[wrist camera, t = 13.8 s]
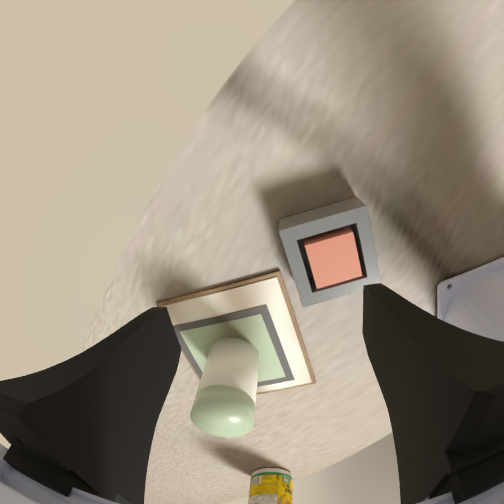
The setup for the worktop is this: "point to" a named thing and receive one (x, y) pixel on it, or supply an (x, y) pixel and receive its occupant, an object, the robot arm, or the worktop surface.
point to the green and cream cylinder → (227, 389)
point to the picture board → (245, 328)
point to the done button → (333, 256)
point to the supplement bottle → (270, 486)
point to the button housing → (321, 222)
